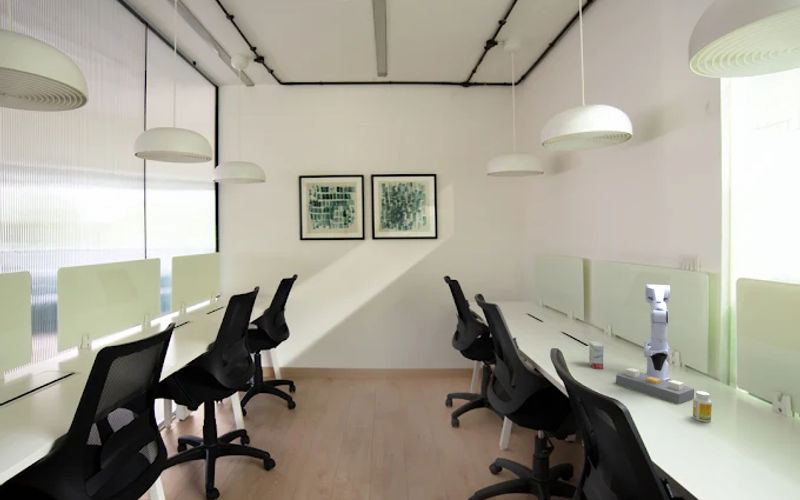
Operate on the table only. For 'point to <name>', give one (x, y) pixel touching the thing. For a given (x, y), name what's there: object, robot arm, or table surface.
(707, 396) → the supplement bottle
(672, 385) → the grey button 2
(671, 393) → the panel
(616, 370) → the table surface
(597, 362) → the ink box
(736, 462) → the table surface
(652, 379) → the amber button
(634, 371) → the block
